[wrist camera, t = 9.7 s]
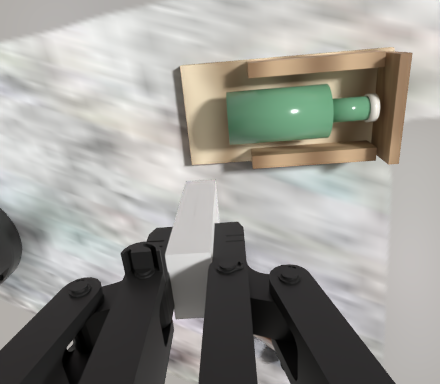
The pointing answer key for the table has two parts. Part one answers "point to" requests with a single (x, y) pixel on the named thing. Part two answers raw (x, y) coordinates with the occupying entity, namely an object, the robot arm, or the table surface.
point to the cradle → (299, 76)
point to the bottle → (293, 113)
